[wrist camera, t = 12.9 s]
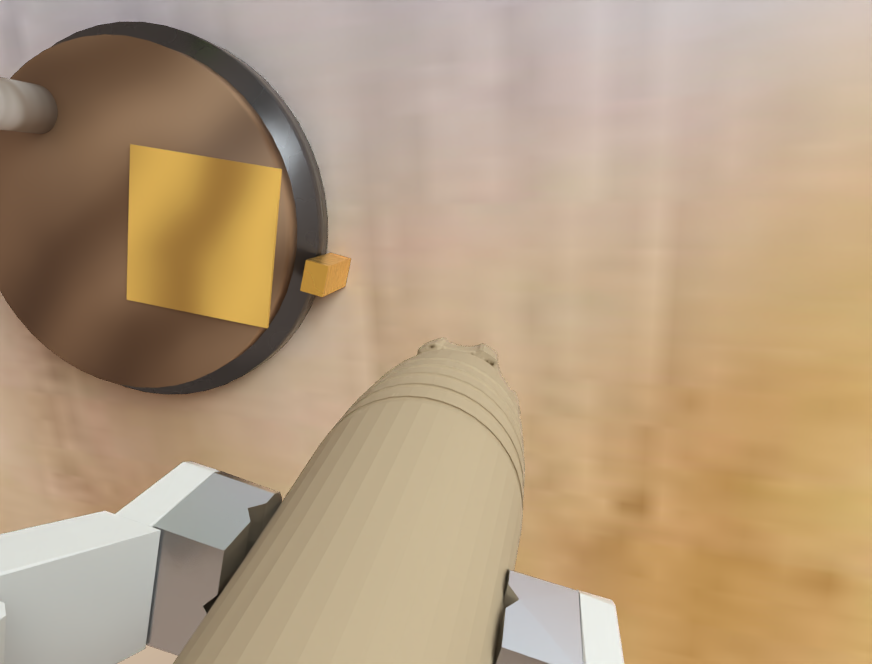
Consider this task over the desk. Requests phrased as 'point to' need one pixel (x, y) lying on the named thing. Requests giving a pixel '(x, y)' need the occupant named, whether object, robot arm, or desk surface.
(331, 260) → the wheel base
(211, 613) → the handle
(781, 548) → the desk surface
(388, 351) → the desk surface
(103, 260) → the disc
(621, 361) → the desk surface
